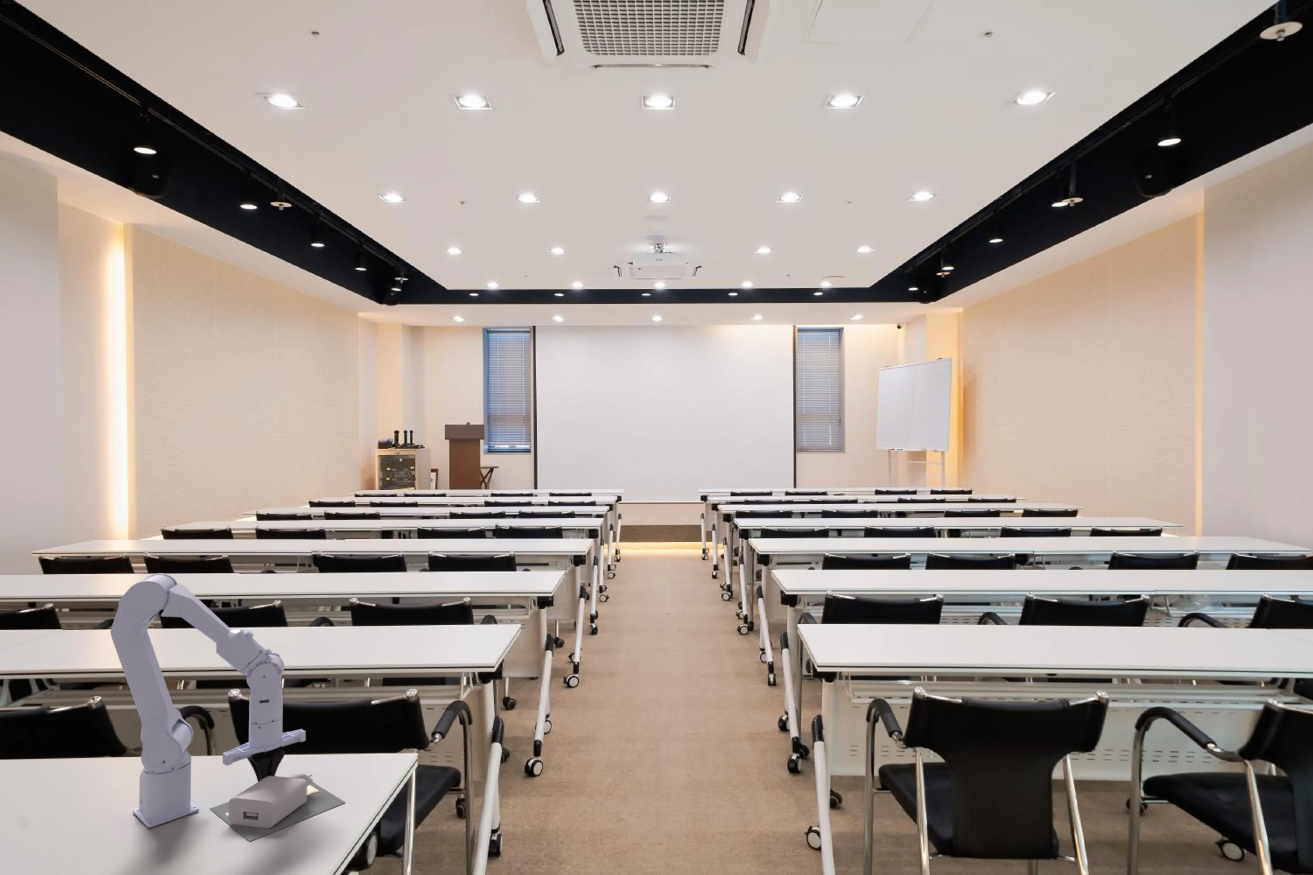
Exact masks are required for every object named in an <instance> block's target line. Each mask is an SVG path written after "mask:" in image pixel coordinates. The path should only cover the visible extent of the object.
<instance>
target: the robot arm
mask: <svg viewBox="0 0 1313 875" xmlns="http://www.w3.org/2000/svg"><path fill="white" fill-rule="evenodd" d="M162 610H163V612H162V613H161V614H160V617H167V618H169V617H170V618H171V617H172V618H182V619H183V620H184V621H186V622H187V623H189V624H190V625H191V626H192V627H194V628H195V629H197V630H198V631H199V632H201V633H202V634H203V635H204V636H206V637H208V638H209V639H210V640H211V641H212V642H214V643H215V647H216V648H215V653H216V654H217V655H218V656H219V657H220V658H222V659H223V660H224V661H225V662H226V663H228V665H230V666H232V668H234V669H235V670H236V671H237V672H238V673H240V674H241V675H243V676H246V683H247V686H248V687H249V688H250V697H249V700H248V702H249V705H248V706H249V707H248V711H249V713H248V714H249V717H248V719H249V720H248V742H245V743H244V744H241V745H239V746H237V747H235V748H233V749H230V750H227V751H225V752H222V764H224V765H225V766H226V767H227V766H231V765H233V763H236V762H238V761H239V762H240V761H241V760H245V759H247V761H248V762H249V764H250V765H251V768H252V770H253V772H254V774H255V777H256V780H257V782H259V781H261V780H262V779H264V778H265V777H267V776H276V773H277V770H278V769H279V766H280V764H281V762H282V760H283V759H284V757H285V753H286V752H285V749H283V747H285V746H289V745H292V744H296V743H298V742H299V743H302V742H305V741H306V740H307V739H306V738H307V735H306V734H307V733H306V730H303V729H302V728H300V729H296V730H293V731H292V730H291V731H287V732H283V712H284V710H283V709H284V708H283V707H284V706H283V702H284V699H283V696H284V694H283V691H282V690H283V682H282V678H283V673H284V670H285V663H284V660H283V658H281V657H280V654H279V653H276V652H273V651H272V650H271V649H270V648H267V649H266V648H265V647H264V646H262V645H261V644H260V643H259V642H258V641H257V640H255V638H253V637H254V633H253V632H251V630H247V631H245V630H243V629H242V628H237V629H233V628H230V627H229V626H228V625H227V624H226V623H225V622H224V621H222V619H220V617H218V616H217V615H216V614H215V613H214V612H213V611H212V610H211V609H210V608H209V607H207V605H206V604H204V603H203V602H202V600H200V599H199V598H198V597H197V596H196V595H195V594H194V593H193V592H192V591H191V590H190V589H189V588H188V587H187V586H185V585H184V584H182V583H180V582H177V580H176V579H175V577H173V576H171V575H169V574H167V573H162V572H161V573H160V572H159V573H154V574H151V575H149V576H147V577H146V578H144V580H141V581H139V582H135V584H132V585H131V587H129V588H128V589H127V590H126V591H125V593H124V594H123V595H122V596H121V598H120V599H119V600H118V606H117V611H116V613H115V616H114V618H113V623H112V625H111V628H110V637H111V639H112V642H113V645H114V648H115V651H116V653H117V656H118V659H119V663H120V664H121V668H122V670H123V674H124V675H125V676H124V677H125V679H126V683H127V685H128V688H129V691H130V693H131V696H132V699H133V702H134V704H135V708H136V710H137V713H138V716H139V719H140V722H141V729H140V741H141V744H142V751H141V754H140V755H141V756H140V759H141V763H142V766H143V768H142V770H141V772H140V775H139V789H138V790H139V791H138V792H139V795H138V796H139V797H138V801H139V803H138V804H139V806H138V807H135V808H134V809H132V813H133V814H134V815H135V816H136V817H137V818H138V820H140V821H141V822H142V824H144V825H145V826H146V827H147V828H149V829H150V828H153V827H156V826H158V825H163V824H165V823H168V822H171V821H173V820H176V819H179V818H181V817H184V816H187V815H188V816H189V815H190V814H193V813H195V812H198V811H199V810H200V808H199V806H198V805H196V804H195V803H194V802H193V801H192V800H191V799H192V797H191V793H192V789H191V788H192V786H191V785H192V756H191V754H190V753H189V751H188V747H189V746H190V745H191V743H192V742H193V739H194V730H193V727H192V725H191V724H190V723H188V722H186V721H185V720H184V718H183V716H182V714H181V712H180V711H179V709H177V708H176V707H175V706H174V704H173V701H172V698H171V695H170V692H169V689H168V687H167V684H166V681H165V678H164V675H163V673H162V670H161V669H162V668H161V666H160V664H159V660H158V658H157V655H156V652H155V648H154V646H153V643H152V640H151V637H150V635H149V632H148V629H149V627H150V625H151V624H152V623H153V621H154V620H155V618H156V617H157V616H158V613H160V612H161V611H162Z"/></svg>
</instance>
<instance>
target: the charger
mask: <svg viewBox="0 0 1313 875" xmlns="http://www.w3.org/2000/svg"><path fill="white" fill-rule="evenodd" d="M311 777H313V774H312V773H310V774H308V775H306V774H305V773H304V772H303V773H293V774H291V775H290V776H276V775H275V776H267V777H265V778H264V779H262V780H261V781H259V782H258V781H257V782H256V783H255V784H253V785H251V786H250V787H247V788H246V789H245V790H243V791H241V792H240V793H238V794H237V795H235V796H233V797H231V798H230V799H229V800H228V802H229V815H228V819H229V821H230V822H231V823H232V824H235V825H243V826H252V827H260V828H270V827H272V826H274V825H275V824H276V823H278V822H279V821H281V820H282V819H283V818H285V817H286V816H287V815H289V814H290V813H292V812H293V811H294V810H296V809H297V808H298V807H300V806H301V805H303V804H304V803H305V802H306V801H307V786H308V785H310V784H311V783H312V782H313V783H314V780H313V779H312V778H311Z"/></svg>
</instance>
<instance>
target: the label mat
mask: <svg viewBox="0 0 1313 875" xmlns="http://www.w3.org/2000/svg"><path fill="white" fill-rule="evenodd" d="M346 803H347V802H346V801H344V800H343V799H341V798H339V797H338V796H336V795H335V794H333V793H331V792H329V791H328V790H327V789H325V788H323V787H322V786H320V785H318V784H316V783H315V782H314V781H313V782H312V783H311V784H310V785H308V786H307V801H306V802H305V803H304V804H303V805H301V806H300V807H298V808H297V809H296V810H294V811H293V812H292V813H290V814H289V815H287V816H286V817H285V818H283V819H282V820H281V821H279V822H278V823H276V824H275V825H274V826H272V827H270V828H260V827H252V826H243V825H235V824H232V823H231V822H230V821H229V819H228V815H229V801H227V802H224V803H221V804H219V805H216V806H212V807H210V808H209V810H210V811H212V812H213V813H214V815H215V814H216V815H217V816H218V817H219V818H220V819H221V820H223V822H224V823H226V824H227V825H229V827H231V828H232V829H233V830H235V831H236V832H237V833H238V834H239V835H241V836H242V837H243V838H244V839H245V840H246V841H248V842H249V843H250V842H253V841H255V840H257V839H260V838H262V837H264V836H267V835H270V834H272V833H274V832H277V831H279V830H282V829H285V828H286V827H287V828H288V827H289V826H292V825H295V824H297V823H300V822H301V821H304V820H307V819H309V818H312V817H314V816H316V815H319V814H322V813H324V812H327V811H329V810H332V809H334V808H337V807H338V806H341V805H344V804H346Z"/></svg>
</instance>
